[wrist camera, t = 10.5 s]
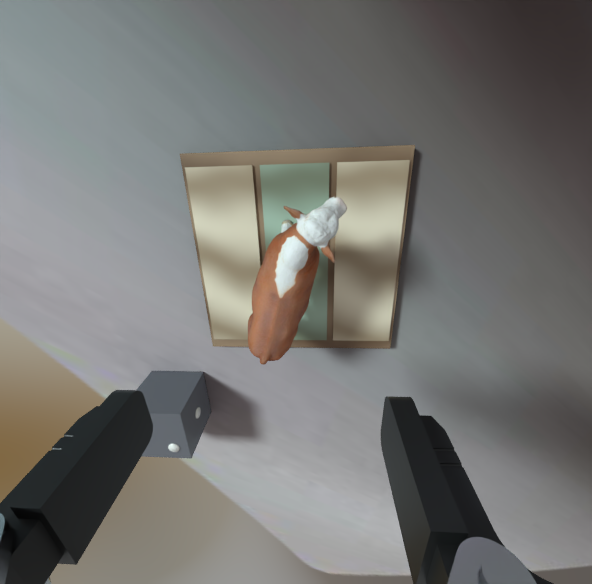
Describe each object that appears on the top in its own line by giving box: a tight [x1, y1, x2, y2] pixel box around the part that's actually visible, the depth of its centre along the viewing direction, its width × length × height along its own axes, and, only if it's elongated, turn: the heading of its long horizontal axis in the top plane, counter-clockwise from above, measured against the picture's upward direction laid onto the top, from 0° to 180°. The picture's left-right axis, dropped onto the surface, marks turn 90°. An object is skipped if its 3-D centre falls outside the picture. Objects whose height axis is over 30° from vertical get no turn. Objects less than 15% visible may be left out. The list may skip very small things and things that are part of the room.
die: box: [136, 371, 211, 458], centre depth 31 cm, size 6×6×6 cm
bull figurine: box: [248, 197, 347, 364], centre depth 21 cm, size 4×13×8 cm, turn 158°
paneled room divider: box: [180, 145, 415, 348], centre depth 26 cm, size 18×18×1 cm
